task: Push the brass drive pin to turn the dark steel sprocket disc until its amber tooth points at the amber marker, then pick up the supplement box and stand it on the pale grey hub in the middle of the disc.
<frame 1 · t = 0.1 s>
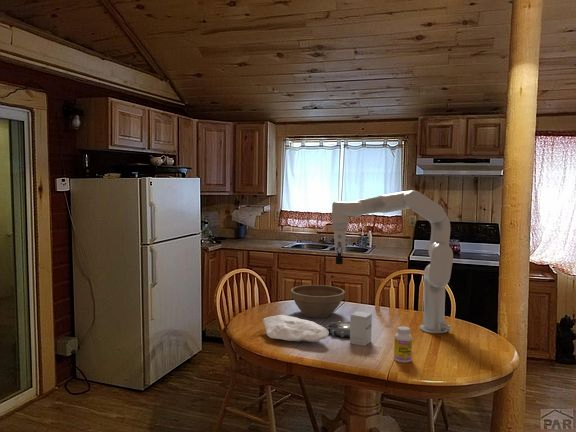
hand: (339, 262, 227), 31 cm above the table, tool pointing down, fingers open, 9 cm apart
supplement box: (360, 342, 205), on the table
supplement bottle: (402, 360, 185), on the table
flower pot: (317, 314, 249), on the table
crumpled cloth: (296, 338, 211), on the table
sprocket disc: (345, 324, 218), point 4 cm above the table, hinge at 0.0°
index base: (345, 332, 218), on the table
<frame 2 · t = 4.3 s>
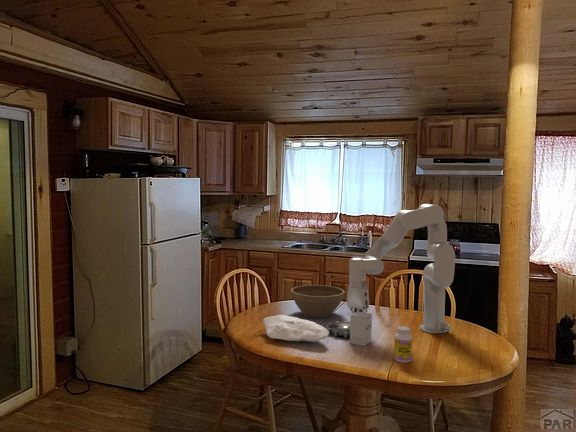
hand: (357, 322, 220), 4 cm above the table, tool pointing down, fingers closed
sprocket disc: (345, 324, 218), point 4 cm above the table, hinge at 9.1°, touching gripper
everything else where it was.
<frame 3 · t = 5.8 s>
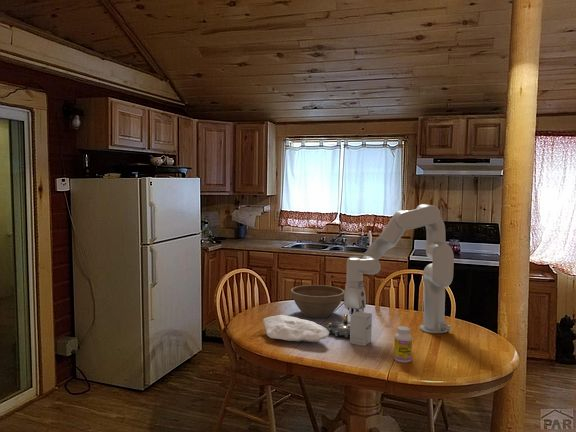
hand: (353, 322, 222), 4 cm above the table, tool pointing down, fingers closed
sprocket disc: (345, 324, 218), point 4 cm above the table, hinge at 41.4°
everything else where it was.
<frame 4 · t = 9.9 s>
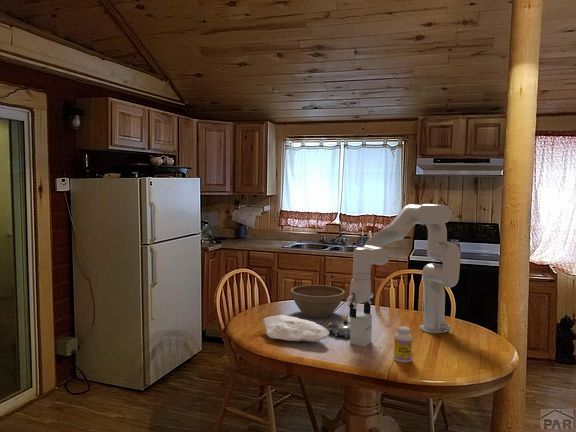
hand: (359, 315, 204), 12 cm above the table, tool pointing down, fingers open, 9 cm apart
supplement box: (360, 343, 205), on the table, touching gripper
everything else where it was.
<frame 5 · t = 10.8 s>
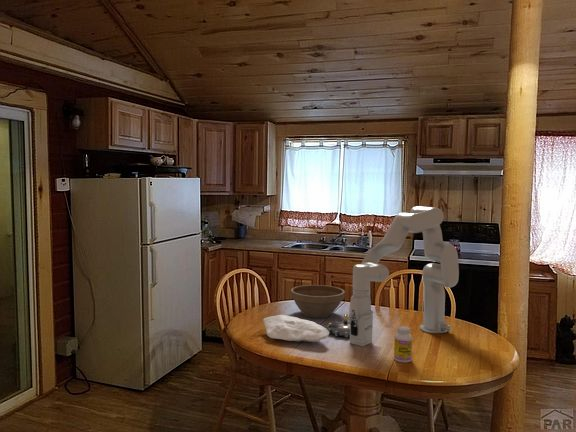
hand: (360, 332, 205), 4 cm above the table, tool pointing down, fingers closed on supplement box, 7 cm apart
supplement box: (361, 343, 205), on the table, touching gripper
everything else where it was.
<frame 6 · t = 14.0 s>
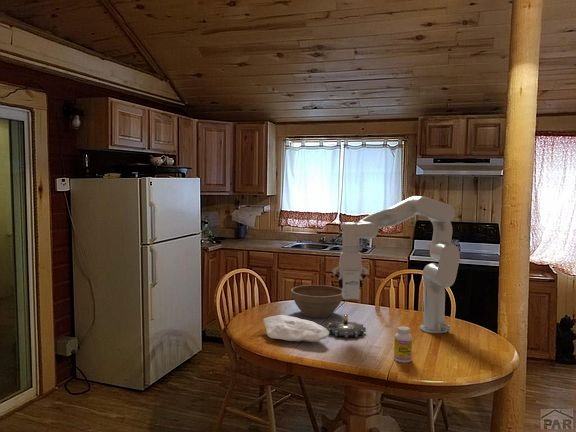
hand: (350, 288, 214), 22 cm above the table, tool pointing down, fingers closed on supplement box, 7 cm apart
supplement box: (350, 298, 213), point 17 cm above the table, touching gripper
everything else where it was.
when the fingers open (8 cm above the table, at t = 17.5 s): supplement box stays where it is, resting on sprocket disc.
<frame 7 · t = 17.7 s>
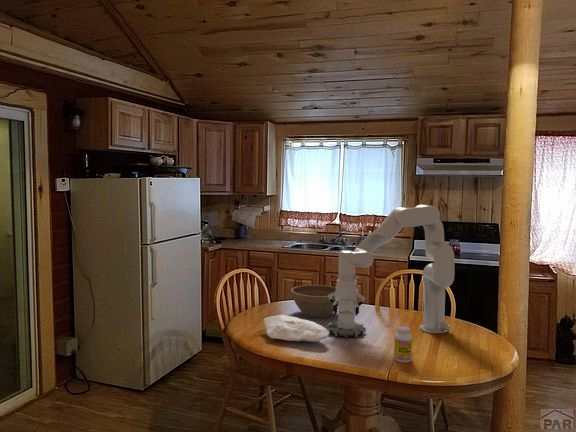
hand: (346, 314, 218), 9 cm above the table, tool pointing down, fingers open, 9 cm apart
supplement box: (346, 326, 218), point 3 cm above the table, touching sprocket disc
sprocket disc: (345, 324, 218), point 4 cm above the table, hinge at 41.4°, touching supplement box
everything else where it was.
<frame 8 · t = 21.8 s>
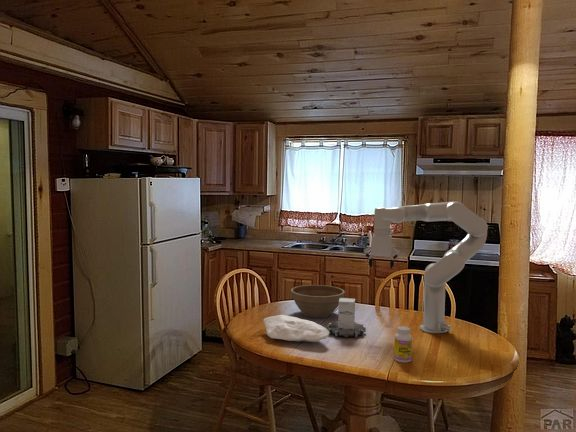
hand: (381, 267, 230), 28 cm above the table, tool pointing down, fingers open, 9 cm apart
nothing on the table moved.
at the end: sprocket disc at +41° (first picture: +0°); supplement box 0.4 cm off-centre on the sprocket disc, point 2.8 cm above the sprocket disc's base; supplement box tilted 0° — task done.
